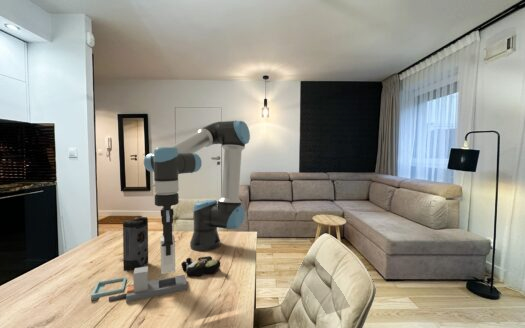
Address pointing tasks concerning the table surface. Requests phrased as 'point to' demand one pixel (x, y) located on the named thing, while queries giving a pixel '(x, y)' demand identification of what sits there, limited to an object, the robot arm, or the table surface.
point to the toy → (200, 266)
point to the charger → (164, 268)
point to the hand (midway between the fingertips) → (167, 260)
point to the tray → (99, 288)
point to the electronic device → (135, 243)
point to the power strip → (151, 286)
